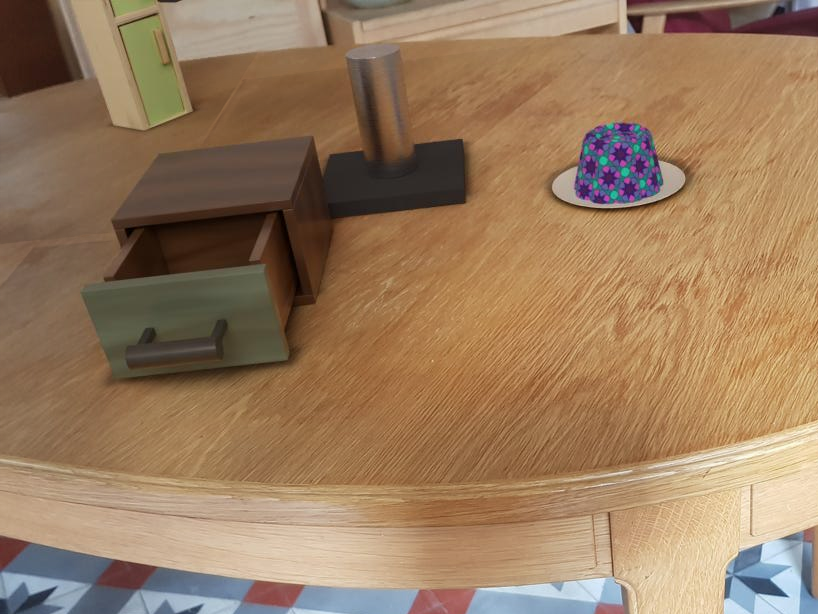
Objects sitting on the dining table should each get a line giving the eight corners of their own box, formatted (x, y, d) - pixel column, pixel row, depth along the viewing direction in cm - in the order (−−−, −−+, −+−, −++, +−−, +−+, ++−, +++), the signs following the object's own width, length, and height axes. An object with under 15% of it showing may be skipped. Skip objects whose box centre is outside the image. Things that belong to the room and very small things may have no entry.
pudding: (697, 207, 81) (699, 146, 78) (557, 222, 82) (554, 163, 79) (672, 159, 91) (673, 103, 88) (547, 173, 92) (544, 118, 88)
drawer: (278, 393, 63) (252, 301, 59) (97, 412, 63) (58, 323, 59) (310, 275, 77) (291, 194, 73) (161, 292, 78) (133, 213, 73)
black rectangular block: (317, 220, 89) (314, 204, 88) (332, 168, 100) (329, 154, 99) (465, 203, 88) (464, 187, 87) (464, 152, 99) (462, 138, 98)
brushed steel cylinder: (365, 181, 91) (342, 61, 84) (369, 163, 95) (347, 47, 88) (417, 175, 91) (398, 54, 84) (418, 157, 95) (400, 40, 88)
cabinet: (315, 303, 75) (290, 198, 70) (147, 322, 76) (110, 219, 70) (333, 229, 86) (313, 134, 81) (188, 246, 87) (158, 153, 82)
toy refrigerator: (148, 138, 116) (86, -56, 103) (113, 132, 120) (49, -56, 107) (199, 118, 120) (145, -70, 108) (164, 112, 124) (108, -70, 111)
